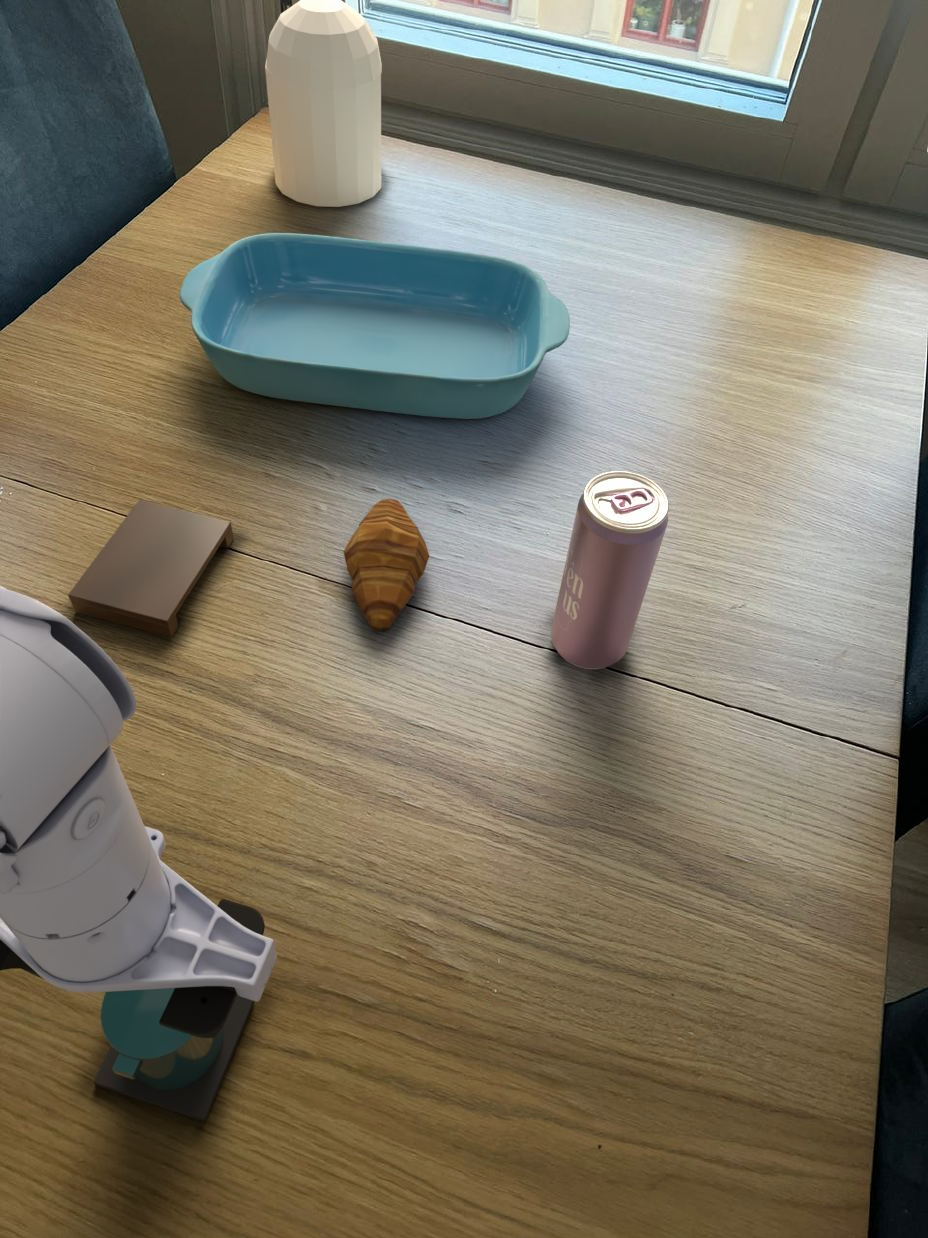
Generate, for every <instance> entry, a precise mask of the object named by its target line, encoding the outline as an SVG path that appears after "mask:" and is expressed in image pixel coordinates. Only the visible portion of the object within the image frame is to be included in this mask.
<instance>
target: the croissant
mask: <svg viewBox="0 0 928 1238" xmlns="http://www.w3.org/2000/svg"><path fill="white" fill-rule="evenodd" d="M343 555H344V560H345V561H344V562H345V564H346V569H347V572H348V573H349V576H350V578H351V579H352V586H351V591H352V594H353V596H354V597H355V600H356V602H357V604H358V606H359V609H360V611H361V612H362V614H363V615H364V617H365V619H366V620H367V622H368V626H369V627H370V629H371V630H373V631H376V632H385V631H389V630H390V628H391V627H392V626H393V624H394V622H395V621H396V619H397V618H398V616H399V615H400V613H401V612H402V611H403V609H404V607H405V606H406V605H407V603H408V602H409V600H410V599H411V598H412V597H413V595H414V593H415V588H416V583H417V582H418V581H419V579H420V578H421V577H422V576H423V575H424V572H425V570H426V567H427V564H428V561H429V559H430V553H429V550H428V547H427V543H426V541H425V539H424V537H423V535H422V534H421V532H420V530H419V527H418V526H417V525H416V523H415V522H414V521H413V520H412V519H411V517H410V516H409V514H408V512H407V511H406V509H405V507H404V505H403V504H402V503H400V501H399V500H398V499H394V498H384V499H381V500H379V501H378V502H377V503H375V504H374V505H373V506H372V508H371V509H370V510H369V511H368V513H367V514H366V515H365V517H364V518H363V519H362V520H361V522H360V523H359V524H358V528H357V529H356V530H355V531H354V533H353V534H352V536H351V537H350V539H349V540H348V543H347V544H346V546H345V548H344V550H343Z"/></svg>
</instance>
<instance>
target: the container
mask: <svg viewBox="0 0 928 1238" xmlns="http://www.w3.org/2000/svg"><path fill="white" fill-rule="evenodd" d="M382 64H383V63H382V59H381V53H380V46H379V41H378V38H377V36H376V35H375V33H374V31H373V30H372V28H371V27H370V25H369V23H368V22H367V20H366V18H365V17H364V16H363V15H362V14H360V13H359V11H357V10H356V9H355V8H353V7H352V6H350V5H349V4H347V3H346V2H344V1H343V0H299V1H297V2H295V3H293V5H291V6H290V7H289V8H287V9H286V10H284V11H283V12H281V13H280V14H279V16H278V18H277V20H276V22H275V23H274V25H273V28H272V29H271V31H270V33H269V37H268V42H267V52H266V59H265V66H264V71H265V81H266V93H267V104H268V115H269V127H270V136H271V147H272V148H271V149H272V158H273V159H272V160H273V170H274V180H275V181H274V182H275V186H276V187H277V189H278V190H279V191H280V193H281V194H282V195H284V196H286V197H288V198H289V199H291V200H293V201H295V202H297V203H301V204H306V205H309V206H314V207H327V208H328V207H329V208H331V207H332V208H341V207H345V206H352V205H359V204H360V203H363V202H365V201H367V200H370V199H372V198H374V197H375V196H376V195H377V194H378V192H380V191H381V189H382V73H383V65H382Z"/></svg>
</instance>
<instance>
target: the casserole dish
mask: <svg viewBox="0 0 928 1238" xmlns="http://www.w3.org/2000/svg"><path fill="white" fill-rule="evenodd" d="M547 285H548V284H547V283H546V281H545V279H544V278H543V277H542V276H541V275H540V274H539V273H538V272H537V271H536V270H534V269H533V268H531V267H529V266H527V265H525V264H522V263H520V262H518V261H515V260H511V259H508V258H503V257H500V256H494V255H489V254H483V253H477V252H476V253H475V252H469V251H461V250H454V249H447V248H446V249H445V248H438V247H428V246H420V245H412V244H402V243H395V242H394V243H393V242H385V241H377V240H376V241H375V240H367V239H357V238H348V237H341V236H330V235H322V234H321V235H319V234H307V233H294V232H293V233H292V232H268V233H260V234H254V235H250V236H247V237H243V238H241V239H238V240H236V241H234V242H232V243H231V244H229V246H228V247H226V248H224V250H223V251H221V252H220V253H218V254H217V255H214V256H212V257H210V258H208V259H206V260H203V261H202V262H200V263H198V264H197V265H195V266H194V267H193V268H192V269H191V270H189V272H188V273H187V274H186V276H185V278H184V280H183V282H182V283H181V286H180V289H179V299H180V302H181V304H182V305H183V306H184V307H185V308H186V309H187V310H188V311H190V313H191V315H190V325H191V328H192V332H193V335H195V337H196V339H197V341H198V342H199V345H200V346H201V348H202V350H203V352H204V354H205V355H206V356H207V358H208V360H209V362H210V363H211V365H212V366H213V368H214V369H215V370H216V372H217V373H218V374H219V375H220V376H221V377H222V378H223V379H224V380H226V381H227V382H228V383H230V384H231V385H232V386H234V387H237V388H239V389H241V390H244V391H246V392H249V393H253V394H256V395H259V396H265V397H268V398H272V399H273V398H274V399H280V400H288V401H296V402H301V403H302V402H303V403H311V404H319V405H325V406H326V405H327V406H334V407H343V408H351V409H362V410H370V411H376V412H377V411H378V412H385V413H386V412H387V413H395V414H403V415H412V416H421V417H431V418H444V419H445V418H446V419H465V420H474V419H475V420H479V419H480V420H481V419H486V418H491V417H494V416H498V415H500V414H503V413H505V412H507V411H509V410H510V409H511V408H513V407H515V405H516V404H518V403H519V402H520V401H521V400H522V398H523V396H524V395H525V394H526V393H527V390H528V389H529V388H530V385H531V383H532V381H533V379H534V377H535V375H536V374H537V372H538V369H539V368H540V366H541V364H542V362H543V360H544V357H545V356H546V354H547V353H549V352H551V351H554V350H555V349H559V348H560V347H561V346H562V345H564V343H566V341H567V340H568V338H569V334H570V327H571V325H570V323H571V319H570V313H569V309H568V307H567V305H566V304H565V303H564V301H562V300H561V299H560V298H559V297H557V296H556V295H555V294H553V293H552V292H551V291H549V288H548V286H547Z"/></svg>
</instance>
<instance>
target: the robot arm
mask: <svg viewBox="0 0 928 1238" xmlns="http://www.w3.org/2000/svg"><path fill="white" fill-rule="evenodd" d="M136 711H137V699H136V696H135V693H134V690H133V688H132V685H131V684H130V683H129V680H128V679H127V677H126V676H125V674H124V673H123V672H122V670H121V669H120V668H119V666H118V665H117V664H116V662H115V661H114V660H113V659H112V658H111V656H109V654H108V653H107V652H106V651H104V649H103V648H102V647H100V645H99V644H98V643H97V642H96V641H94V640H93V639H92V638H91V637H90V636H89V635H88V634H86V633H85V632H84V631H83V630H81V628H80V627H78V626H77V625H76V624H74V623H73V622H72V621H71V620H70V619H69V618H67V617H66V616H64V615H63V614H62V613H60V612H59V611H57V610H55V609H54V608H52V607H50V606H48V605H47V604H45V603H43V602H41V601H39V600H37V599H35V598H32V597H30V596H28V595H26V594H22V593H20V592H17V591H13V590H11V589H8V588H6V587H4V586H2V585H0V972H1V971H5V970H11V969H13V970H16V969H18V970H23V971H25V972H27V973H28V974H31V975H33V976H35V977H38V978H40V979H43V980H44V981H46V982H47V983H48V984H50V985H51V986H54V987H56V988H58V989H60V990H64V991H67V992H72V993H79V994H80V993H81V994H84V993H85V994H90V993H91V994H92V993H94V994H95V993H106V992H111V991H129V990H146V989H164V988H175V989H174V991H173V993H172V995H171V997H170V1000H169V1002H168V1004H167V1006H166V1008H165V1010H164V1012H163V1014H162V1016H161V1019H160V1021H159V1023H160V1025H161V1026H165V1027H168V1028H171V1029H174V1030H177V1031H180V1032H183V1033H186V1034H189V1035H192V1036H195V1037H200V1038H214V1037H216V1036H217V1034H218V1033H219V1032H220V1030H221V1029H222V1027H223V1026H224V1024H225V1022H226V1020H227V1018H228V1015H229V1013H230V1011H231V1008H232V1006H233V1004H234V1001H235V999H236V997H237V995H239V996H240V997H243V998H247V999H250V1000H253V1001H254V1002H257V1003H258V1002H260V1000H261V999H262V996H263V993H264V991H265V988H266V986H267V983H268V981H269V979H270V976H271V975H272V971H273V968H274V966H275V964H276V961H277V959H278V954H277V950H276V946H275V941H274V939H273V938H271V937H269V936H268V937H267V936H265V935H264V933H265V929H266V924H265V920H264V917H263V915H262V914H261V912H260V911H258V909H256V908H254V907H251V906H249V905H245V904H243V903H239V902H235V901H233V900H229V899H225V898H222V899H220V900H219V902H218V903H217V904H215V903H214V902H213V901H212V900H211V899H209V898H208V897H207V896H205V895H204V894H203V893H202V892H200V891H199V890H198V889H197V888H195V886H193V885H192V884H190V883H189V882H188V881H187V880H186V879H184V878H183V877H182V876H180V874H178V873H177V872H176V871H174V870H173V869H172V868H171V867H169V866H168V865H167V864H166V863H165V862H163V861H162V860H161V858H162V855H163V853H164V851H165V850H166V846H167V842H166V840H165V837H164V834H163V832H161V831H160V830H158V829H155V828H152V827H148V826H145V824H144V822H143V819H142V817H141V815H140V812H139V809H138V807H137V805H136V802H135V800H134V798H133V796H132V793H131V790H130V788H129V785H128V783H127V781H126V779H125V776H124V774H123V772H122V769H121V767H120V764H119V761H118V759H117V757H116V755H115V751H114V750H113V748H112V744H113V742H115V740H116V739H117V738H118V737H119V736H120V735H121V733H122V731H123V729H124V721H127V720H129V719H131V718H133V716H134V715H135V713H136Z"/></svg>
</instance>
